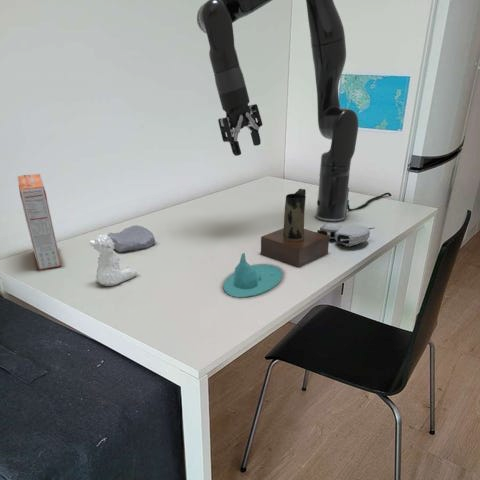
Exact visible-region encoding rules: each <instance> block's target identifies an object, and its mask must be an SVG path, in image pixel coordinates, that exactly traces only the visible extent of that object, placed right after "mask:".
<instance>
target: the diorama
mask: <svg viewBox="0 0 480 480" xmlns="http://www.w3.org/2000/svg"><path fill="white" fill-rule="evenodd" d="M240 255H241V256H240V260H239V263H238V264H237V265H236V266H235V268H234V272H233V273H232V274H230V276H228V277H227V278H226V279H225V281H224V283H223V290H224V292H225V294H227V295H228V296H231V297H233V298H239V299H240V298H241V299H242V298H251V297H255V296H258V295H262V294H265V293H267V292H269V291H271V290H272V289H274V288H275V287H276V286H277V285H278V284H279V283H280V282H281V280H282V278H283V272H282V270H281V268H279V267H277V266H276V265H271V264H254V265H250V264H249V263H248V262H247V260H246V259H247V258H246V253H245V252H242V253H241V254H240Z"/></svg>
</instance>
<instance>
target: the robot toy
mask: <svg viewBox="0 0 480 480" xmlns="http://www.w3.org/2000/svg"><path fill="white" fill-rule="evenodd" d="M374 229H376V228H375V227H374V226H373V227H368V226H366V225H361V224H349V225H346V226H343V225H342V224H340V223H337V222H331V223H327V224H323V225H321V226H320V228H319V230H318V229H317V231H316V232H317V233H321V234H324V235H327V236H329V241H330V240H335V241H336V242H337V243H338V244H342V245H343V246H344V247H347V248H350V247H353V246H355V245H359V244H362V243H364V242H366V241H367V240H368V239H369V238H370V237H371V236H370V234H371V230H374Z"/></svg>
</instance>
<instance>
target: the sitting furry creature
mask: <svg viewBox="0 0 480 480" xmlns="http://www.w3.org/2000/svg"><path fill="white" fill-rule="evenodd" d="M112 241H113V240H112V239H111V238H110V237H108V234H104V233H102V234H98V235H97V236H96V237H95V239H89V240H88V242H89V245H90V246H91V247H92V248H93V249H94V250H96V251H97V252H98V253H99V255H98V257H97V269H96V274H95V275H96V276H95V277H96V279H97V282H98V283H99V284H100V285H102V286H105V287H112V286H117V285H119V284H121V283H124V282H126V281H128V280H130V279H132V278H135V276H137V273H138V271H137V270H136V269H135V268H132V267H131V268H130V267H126V268H124V269H122V268H121V267H120V261H121V258H120V257H118V255H117V254H116V252H115V251H114V250H115V249H114V248H115V247H114V245H115V244H114V243H113V242H112Z"/></svg>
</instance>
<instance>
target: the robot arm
mask: <svg viewBox="0 0 480 480" xmlns="http://www.w3.org/2000/svg"><path fill="white" fill-rule="evenodd" d="M271 2H273V0H207V1H206V2H205V3H203V4H201V6H200V7H199V9H198V11H197V14H196V23H197V26H198V28H199V30H200V31H201V32H202V33H204V34H206V36H207V40H208V41H207V42H208V45H209V50H208V56H209V61H210V64H211V68H212V72H213V76H214V82H215V87H216V91H217V94H218V97H219V101H220V104H221V108H222V110H223V112H225V117H221V118H220V117H219V118H218V121H217V122H218V126H219V131H220V135H221V138H222V141H223V142H224V143H229V146H230V148H231V152H232V154H233V156H236V157H238V156H241V155H242V150H241V146H240V143H239V140H238V138H239V133H240V132H241V130H242V129H243V128H247V129H248V130H249V131H250V136H251V141H252V144H253V146H256V147H257V146H260V145H261V136H260V132H259V130H260V127H262V126H263V121H262V116H261V114H260V109H259V106H258V104H257V103H255V104H254V103H253V104H250V97H249V92H248V89H247V85H246V80H245V77H244V73H243V70H242V67H241V65H240V60H239V57H238V53H237V49H236V45H235V35H234V27H233V23H235V22H237V21H238V20H239V19H242V18H245V17H247V16H249V15H251V14H252V13H254V12H256V11H258V10H259V9H261V8H264V6H266V5H267V4H269V3H271ZM305 3H306V11H307V21H308V29H309V37H310V46H311V47H310V48H311V55H312V56H311V57H312V62H313V68H314V78H315V79H314V80H315V87H316V88H315V89H316V98H317V99H316V102H317V103H316V105H317V126H318V130H319V133H320V135H321V136H322V137H323V138H324V139H327V140H330V141H331V142H330V147H329V150H328V151H325V152H323V153H322V154H321V156H320V166H319V177H318V193H317V200H316V201H317V202H316V213H315V217H316V219H318V220H320V221H324V222H341V221H344V220H345V219H346V216H347V211H349V212H352V211H358V210H360V209H362V208H363V207H366V206H367V205H368V204H369V203H370V202H372V201H375V200H377V199H380V198H383V197H384V196H387V195H388V196H389V197H392V196H393V195H392V194H391V193H390V192H385V193H383V194H380V195H377V196H375V197H372V198H370V199H368V200H367V201H365V203H364V204H361V205H359V206H356V207H355V208H351V207H350V200H349V193H350V187H349V182H350V171H351V165H352V164H351V163H352V158H353V157H354V155H355V152H356V145H357V139H358V133H359V118H358V115H357V112H356V111H354V110H353V109H350V108H346V107H341V104H340V95H339V85H340V82H341V81H340V80H341V77H342V74H343V71H344V68H345V64H346V61H347V45H346V34H345V28H344V25H343V22H342V19H341V16H340V14H339V12H338V10H337V7H336V4H335V1H334V0H305ZM249 104H250V105H249Z"/></svg>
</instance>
